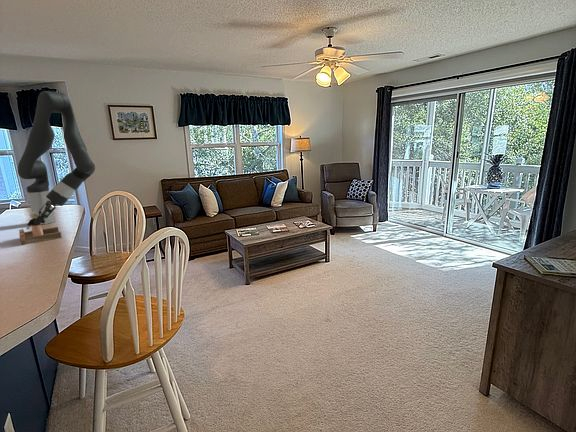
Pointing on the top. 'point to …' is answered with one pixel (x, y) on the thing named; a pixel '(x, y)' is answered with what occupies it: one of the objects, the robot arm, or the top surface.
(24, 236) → the trap box
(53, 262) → the top surface
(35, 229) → the grandmother figurine
